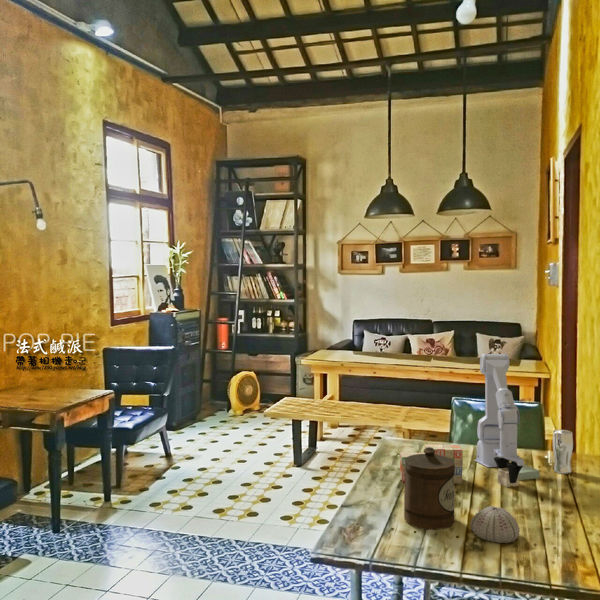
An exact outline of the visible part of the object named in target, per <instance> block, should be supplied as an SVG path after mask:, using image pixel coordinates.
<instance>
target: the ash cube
mask: <svg viewBox="0 0 600 600" xmlns="http://www.w3.org/2000/svg"><path fill="white" fill-rule="evenodd" d="M497 483H498V484H499V483H500V484H499V485H501V486H504V487H505V488H511V487H510V486H513V487H519V486H520V485H519V484H520V480H519V474H518V478H517V481H516V483H510V480H509V471H508V468H500V469H498V468H497Z"/></svg>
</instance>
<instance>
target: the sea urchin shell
mask: <svg viewBox="0 0 600 600" xmlns="http://www.w3.org/2000/svg"><path fill="white" fill-rule="evenodd" d="M469 525H470V529H471V531H472V532H473V533H474V535H476V536H477V537H478V538H479V537H480V539H481V540H484V541H485V540H487V541H489V542H491V543H497V544H504V543H505V544H508V543H511V542H513V541H516V540H517V539H518V538H519V535H520V531H521V530H520V529H521V528H520V526H519V524H518V522H517V521H516V519H515V517H514V516H513V515H512V514H511V512H509V511H507V509H505V508H503V507H500V506H499V507H498V506H494V505H493V506H492V505H489V506H487V507H484V508H483V509H481V510H478V512H476V513H475V514H474V515H473V517H472V519H471V520H470V523H469Z"/></svg>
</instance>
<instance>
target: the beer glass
mask: <svg viewBox="0 0 600 600" xmlns="http://www.w3.org/2000/svg"><path fill="white" fill-rule="evenodd" d="M573 448H574V440H573V432H572V430H571V431H570V430H568V429H555V430H553V434H552V450H553V456H554V466H553V471H554V473H558V474H562V475H569V474H571V473H572V468H571V467H572V466H571V459H572V455H573ZM568 473H569V474H568Z"/></svg>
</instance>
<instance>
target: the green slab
mask: <svg viewBox="0 0 600 600" xmlns="http://www.w3.org/2000/svg"><path fill="white" fill-rule="evenodd" d="M539 478H540V470H539V469H537V468H534V467H532V466H530V465H527V464H526V463H524V465H523V467H522V468H521V470H520V472H519V481H525V480H524V479H526V480H534V479H539Z"/></svg>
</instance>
